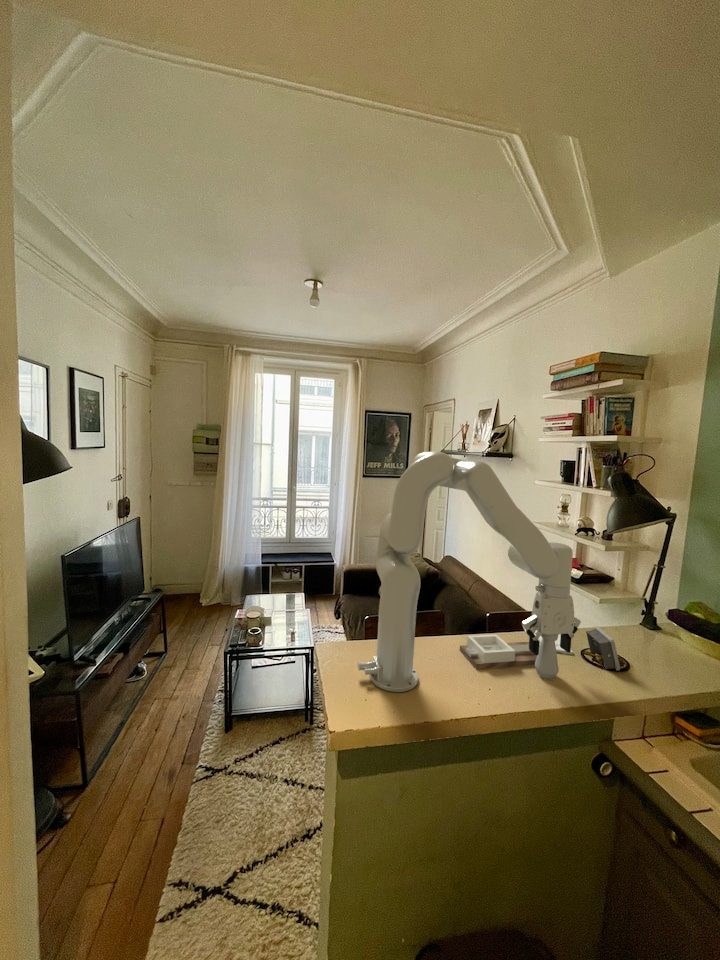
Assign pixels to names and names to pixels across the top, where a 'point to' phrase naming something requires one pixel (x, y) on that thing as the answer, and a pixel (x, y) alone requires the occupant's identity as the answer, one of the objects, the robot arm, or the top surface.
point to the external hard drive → (558, 645)
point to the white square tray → (491, 655)
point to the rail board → (519, 661)
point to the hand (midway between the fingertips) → (549, 651)
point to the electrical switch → (603, 647)
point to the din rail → (518, 649)
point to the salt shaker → (547, 658)
